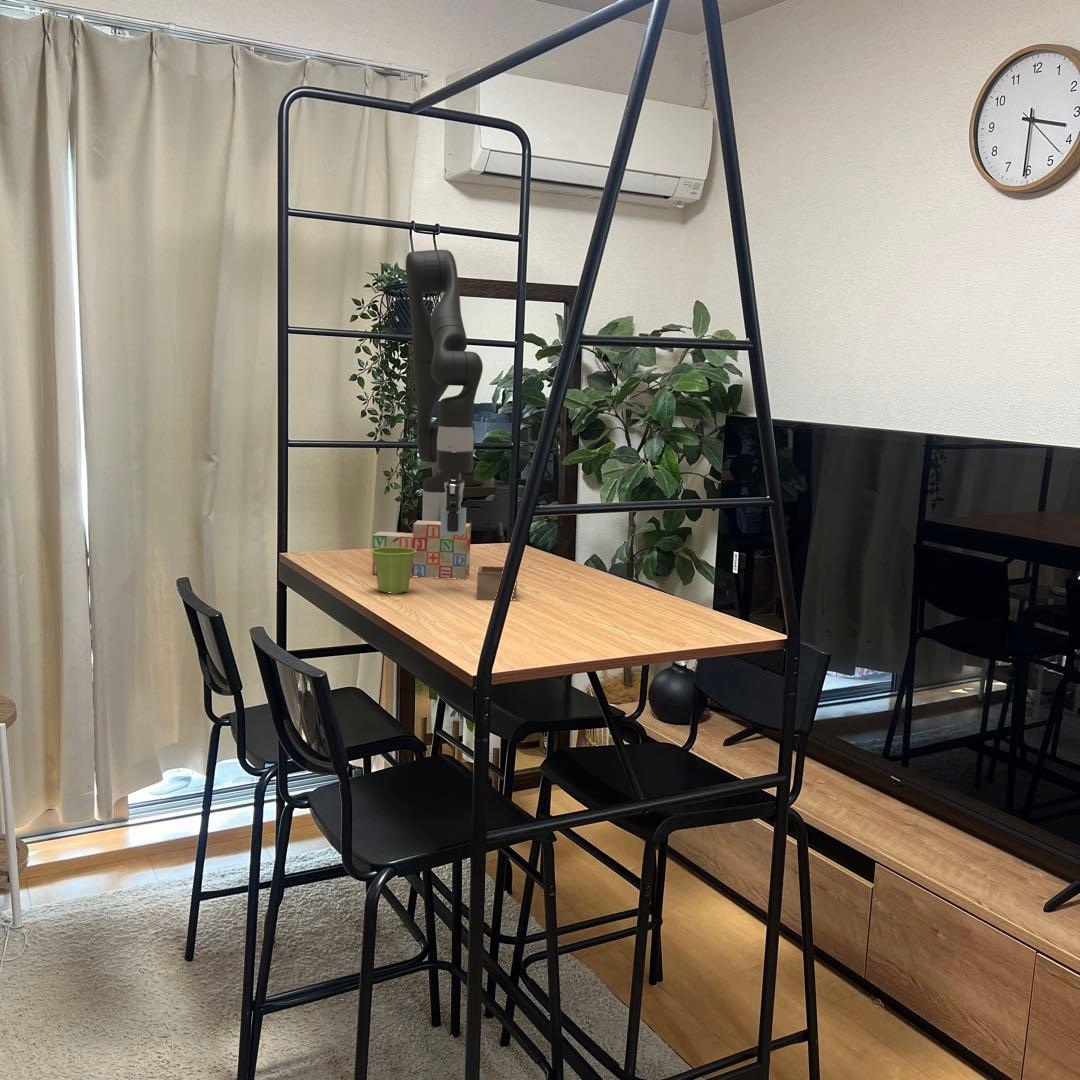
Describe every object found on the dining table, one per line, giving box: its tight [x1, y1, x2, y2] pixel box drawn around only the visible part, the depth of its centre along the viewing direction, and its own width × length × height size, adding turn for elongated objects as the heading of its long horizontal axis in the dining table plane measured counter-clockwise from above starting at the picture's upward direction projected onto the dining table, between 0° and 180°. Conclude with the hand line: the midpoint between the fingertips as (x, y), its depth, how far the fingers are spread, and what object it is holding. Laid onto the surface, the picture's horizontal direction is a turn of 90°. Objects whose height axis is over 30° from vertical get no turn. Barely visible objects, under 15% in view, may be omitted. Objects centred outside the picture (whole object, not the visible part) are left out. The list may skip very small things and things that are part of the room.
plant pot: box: [370, 547, 417, 594], centre depth 217 cm, size 9×9×9 cm
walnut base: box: [476, 565, 518, 601], centre depth 216 cm, size 8×8×6 cm
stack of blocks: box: [371, 519, 472, 580], centre depth 237 cm, size 21×6×12 cm, turn 86°
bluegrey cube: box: [441, 507, 467, 535], centre depth 220 cm, size 5×5×5 cm
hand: (453, 529), depth 221 cm, fingers closed on bluegrey cube, 5 cm apart
